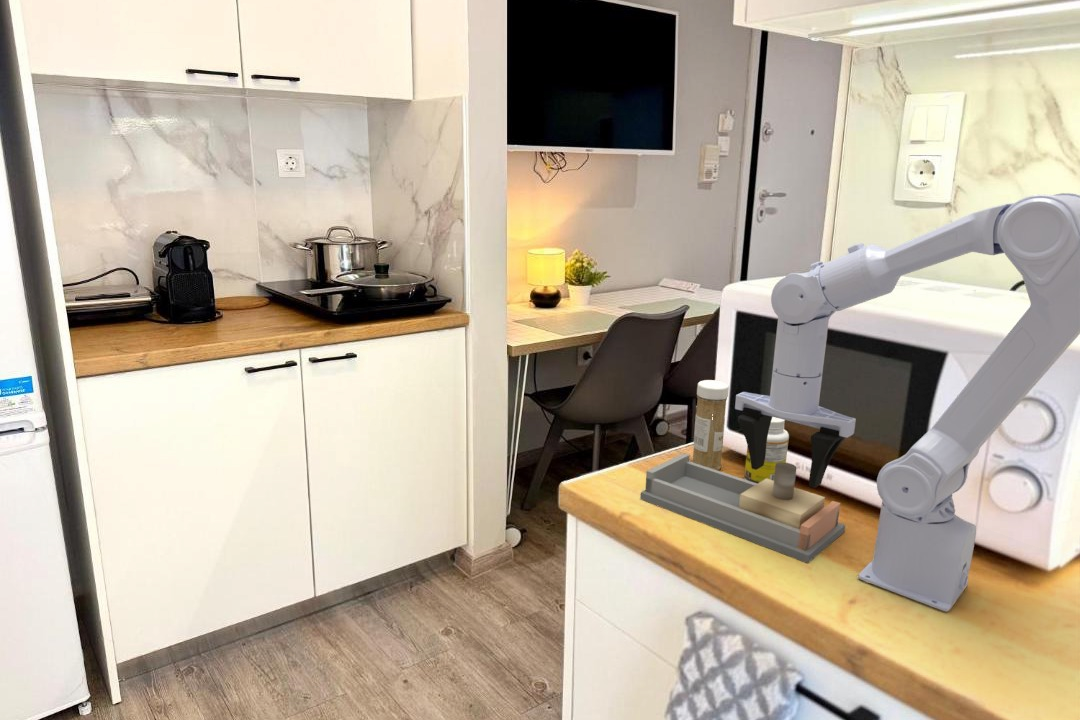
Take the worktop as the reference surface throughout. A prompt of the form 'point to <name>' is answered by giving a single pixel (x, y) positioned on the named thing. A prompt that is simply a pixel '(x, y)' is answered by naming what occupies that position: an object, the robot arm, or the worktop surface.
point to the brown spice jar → (710, 423)
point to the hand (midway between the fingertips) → (785, 475)
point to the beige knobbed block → (782, 498)
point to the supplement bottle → (770, 453)
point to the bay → (735, 508)
